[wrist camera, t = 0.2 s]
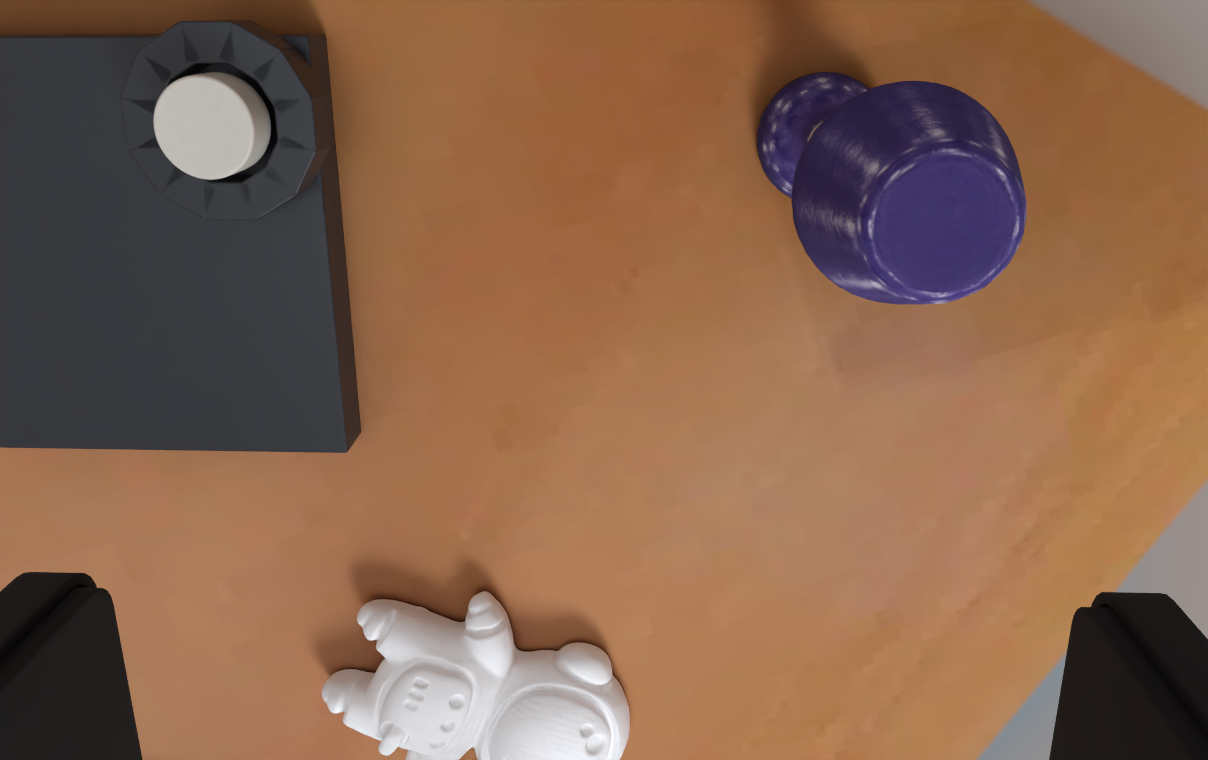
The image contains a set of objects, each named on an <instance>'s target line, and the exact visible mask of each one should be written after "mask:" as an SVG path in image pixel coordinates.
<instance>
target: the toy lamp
mask: <svg viewBox="0 0 1208 760" xmlns="http://www.w3.org/2000/svg"><path fill="white" fill-rule="evenodd" d="M757 149H758V155H759V158H760V162H761V165H762V168H763V170H764V172H765V174H766V175H767V177H768V178H769V180H770V181H771V182H772V184H773V185H774V186H776V188H777V189H778V190H779V191H781V192H782V193H784V194H785V195H787V196H788V197H790V198H792V208H793V219H794V224H795V228H796V231H797V234H798V237H799V239H800V241H801V243H802V245H803V247H804V249H805V251H806V253H807V255H808V256H809V257H810V259H811V260H812V261H813V263H814V264H815V265H816V267H817V268H818V269H819V270H820V271H821V272H822V273H823V274H824V275H825V276H826V277H827V278H828V279H829V280H831V281H832V282H833V283H835V284H836V285H837V286H839V287H840V288H842V289H844V290H846V291H848V292H850V293H851V294H854V295H856V296H859V297H862V298H865V299H868V300H872V301H876V302H882V303H891V304H937V303H947V302H950V301H954V300H957V299H960V298H963V297H965V296H968V295H971V294H973V293H976V292H977V291H979V290H981V289H982V288H984V287H985V286H987V285H988V284H989V283H990V282H992V281H993V280H994V279H995V278H996V277H997V276H998V275H999V274H1000V273H1001V272H1002V271H1003V270H1004V269H1005V268H1006V267H1007V265H1008V264H1009V262H1010V261H1011V259H1012V257H1013V256H1014V254H1015V252H1016V250H1017V248H1018V246H1019V245H1020V243H1021V240H1022V236H1023V233H1024V227H1025V221H1026V197H1025V191H1024V186H1023V181H1022V177H1021V173H1020V169H1019V165H1018V161H1017V158H1016V155H1015V152H1014V149H1013V147H1012V145H1011V143H1010V140H1009V138H1008V137H1007V135H1006V133H1005V132H1004V130H1003V128H1002V127H1001V126H1000V124H999V123H998V121H997V120H996V119H995V118H994V117H993V116H992V114H991V113H990V112H989V111H988V110H987V109H986V108H985V107H983V106H982V105H981V104H980V103H978V102H977V101H976V100H974V99H973V98H971V97H970V96H968V95H967V94H965V93H963V92H961V91H959V90H957V89H954V88H952V87H949V86H945V85H941V84H938V83H931V82H923V81H902V82H895V83H890V84H884V85H881V86H878V87H874V88H872V89H869V88H868V87H866V86H865V85H864V84H863V83H862V82H860V81H858V80H856V79H854V78H852V77H850V76H847V75H844V74H840V73H835V72H822V73H814V74H810V75H806V76H804V77H800V78H798V79H795V80H794V81H792V82H791V83H789V84H787V85H786V86H785V87H783V88H782V89H781V90H780V91H779V92H778V93H777V94H776V95H775V96H774V97H773V98H772V99H771V101H770V103H769V105H768V106H767V107H766V109H765V111H764V113H763V115H762V117H761V120H760V124H759V127H758V134H757Z"/></svg>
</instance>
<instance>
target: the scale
mask: <svg viewBox="0 0 1208 760" xmlns="http://www.w3.org/2000/svg"><path fill="white" fill-rule="evenodd" d="M209 72H223V73H228V74H231V75H234V76H236V77H238V78H240V79H242V80H244V81H245V82H247V83H248V84H249V85H250V86H252V87H253V88H254V89H255V90H256V91H257V93H258V94H259V95H260V97H261V98H262V100H263V101H264V103H265V105H266V108H267V110H268V113H269V116H270V122H271V136H270V141H269V144H268V147H267V149H266V151H265V153H264V154H263V156H262V157H261V158H260V159H259V160H258V161H257V162H256V163H255V164H254V165H252V166H251V167H249V168H247V169H245V170H243V171H240V172H238V173H235V174H233V175H230V176H228V177H225V178H221V179H213V180H209V179H201V178H197V177H194V176H191V175H189V174H187V173H185V172H183V171H182V170H180V169H179V168H177V167H176V166H175V165H174V164H173V163H172V162H171V161H170V160H169V159H168V158H167V157H166V155H165V154H164V153H163V151H162V149H161V148H160V146H159V143H158V141H157V138H156V135H155V131H154V122H153V121H154V111H155V106H156V103H157V101H158V99H159V97H160V95H161V94H162V92H163V91H164V90H165V89H166V87H167V86H169V85H170V84H171V83H172V82H174V81H176V80H178V79H180V78H182V77H185V76H190V75H196V74H203V73H209ZM360 433H361V427H360V416H359V404H358V393H357V382H356V371H355V359H354V348H353V337H352V325H351V314H350V303H349V292H348V280H347V269H346V258H345V246H344V235H343V224H342V213H341V201H340V190H339V179H338V167H337V156H336V145H335V134H334V122H333V111H332V100H331V88H330V77H329V66H328V55H327V43H326V36H325V34H274V33H272V32H271V31H269V30H267V29H265V28H264V27H262V26H260V25H258V24H257V23H255V22H253V21H250V20H199V21H181V22H178V23H176V24H175V25H173V26H172V27H171V28H169V29H168V30H166V31H165V32H163V33H162V34H112V35H0V447H7V448H72V449H138V450H203V451H268V452H333V453H346V452H348V450H349V449H350V448H351V446H352V445H353V443H354V442H355V440H356V439H357V437H358V436H359V434H360Z"/></svg>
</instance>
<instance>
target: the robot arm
mask: <svg viewBox="0 0 1208 760" xmlns="http://www.w3.org/2000/svg"><path fill="white" fill-rule="evenodd" d="M0 760H142V755H141V750H140V744H139V739H138V734H137V728H136V723H135V718H134V712H133V707H132V702H131V696H130V691H129V685H128V680H127V675H126V669H125V664H124V659H123V653H122V648H121V643H120V637H119V632H118V626H117V621H116V616H115V610H114V605H113V601H112V598H111V595H110V594H109V593H108V591H107V590H105V589H103V588H97V587H96V584H95V582H94V581H93V579H92V578H91V577H90V576H88V575H87V574H85V573H50V572H28V573H23V574H21V575H20V576H18V577H16V578H15V579H14V580H13V581H12V582H11V583H10V584H8V585H7V586H6V587H5V588H4V589H3V590H2V591H1V592H0ZM1049 760H1208V639H1207V638H1206V637H1205V636H1204V635H1203V634H1202V633H1201V631H1200V630H1199V629H1198V628H1197V627H1196V625H1195V624H1194V623H1193V622H1192V621H1191V620H1190V619H1189V618H1188V616H1187V615H1186V614H1185V613H1184V612H1183V611H1182V610H1181V608H1180V607H1179V606H1178V605H1177V604H1176V603H1175V601H1174V600H1173V599H1171V598H1170V597H1169V596H1168V595H1166V594H1161V593H1118V592H1102V593H1100V594H1098V595H1097V596H1096V597H1095V599H1094V601H1093V603H1092V606H1091V607H1080V608H1079V609H1077V611H1076V612H1075V614H1074V617H1073V621H1072V625H1071V631H1070V637H1069V643H1068V649H1067V655H1066V662H1065V668H1064V674H1063V680H1062V686H1061V692H1060V698H1059V704H1058V710H1057V716H1056V722H1055V728H1054V734H1053V740H1052V746H1051V752H1050V758H1049Z"/></svg>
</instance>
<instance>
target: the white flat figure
mask: <svg viewBox="0 0 1208 760" xmlns="http://www.w3.org/2000/svg"><path fill="white" fill-rule="evenodd" d="M357 622H358V624H359V625H361V626H362V627H363V632H364V635H365V637H366V638H367V639H368V640H370V641H372V640H377V644H376V649H377V650H378V651H379V652H380V653H381V654H382V655H383V656H384V657H385V658H384V660H383V661H382V662H381V664H380V665H379V667H378V669H377V671H376V672H375V673H371V672H365V671H361V670H356V669H345V670H341V671H337V672H335V673H334V674H332V675H331V676H330V677H329V678H328V679H327V681H326V682H325V684H324V686H323V689H322V698H323V700H324V701H325V702H326V703H327V704H328V708H329V710H330V711H331V712H332V713H340V712H345V713H344V717H343V723H344V724H345V725H347V726H348V727H350V728H352V729H354V730H356V731H358V732H360V733H363V734H365V735H367V736H370V737H373V738H375V739H378V740H381V743H380V745H379V752H380V753H381V754H383V755H386V756H388V755H390V754H392V753H393V752H394V751H395V749H396V748H397V747H400V748H403V749H407V750H408V752H407V756H406V758H405V760H458V759H459V758H461V757H462V756H463V755H464V754H465V753H466V752H467V751H468V750H469V749H470V748H474V749H475V752H476V757H477V760H620V758H621V756H622V754H623V751H624V749H625V746H626V743H627V740H628V736H629V728H630V716H629V707H628V702H627V699H626V696H625V694H624V692H623V689H622V687H621V685H620V683H619V682H618V680H617V679H616V678H615V677H614V676H613V674H612V666H611V662H610V659H609V657H608V655H607V654H606V653H605V652H604V651H603V650H601V649H600V648H598V647H597V646H594V645H591V644H588V643H578V642H577V643H570V644H567V645H565V646H563V647H562V648H561V649H560V650H559V651H553V650H538V651H532V652H525V651H520V650H518V649H517V648H516V646H515V644H514V639H513V633H512V629H511V625H510V622H509V618H508V616H507V613H506V611H505V610H504V608H503V607H502V605H501V604H500V603H499V602H498V601H497V600H496V599H495V598H494V597H493V596H492V594H491V593H489V592H487V591H483V592H480V593H478V594H476V595H474V596H473V597H472V599H471V600H470V603H469V606H468V612H467V615H466V619H465V621H464V622H457V621H453V620H450V619H448V618H446V617H443V616H440V615H438V614H435V613H432V612H430V611H428V610H427V609H425V608H423V607H418V606H414V605H410V604H407V603H404V602H400V601H396V600H389V599H377V600H373V601H370V602H368V603H366V604H365V605H363V606H362V607H361V609H360V610H359V612H358V615H357Z"/></svg>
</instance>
